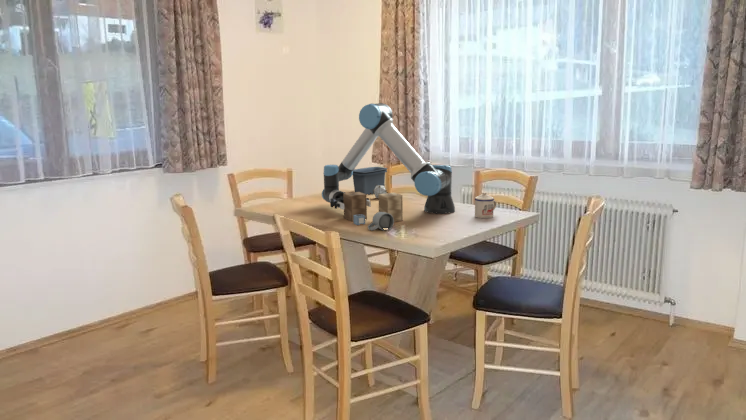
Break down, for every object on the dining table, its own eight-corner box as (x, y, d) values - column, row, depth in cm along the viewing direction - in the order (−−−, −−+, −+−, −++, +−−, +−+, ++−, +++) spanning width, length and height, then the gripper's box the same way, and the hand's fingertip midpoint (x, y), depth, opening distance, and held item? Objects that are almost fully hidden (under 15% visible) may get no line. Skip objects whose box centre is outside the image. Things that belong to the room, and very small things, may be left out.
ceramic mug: (386, 226, 271) (385, 209, 270) (394, 229, 264) (394, 212, 262) (364, 229, 267) (364, 211, 265) (372, 232, 260) (371, 215, 258)
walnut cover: (359, 216, 293) (359, 191, 290) (366, 219, 285) (366, 194, 283) (343, 218, 289) (343, 193, 287) (350, 221, 282) (350, 195, 279)
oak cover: (394, 217, 289) (393, 192, 286) (402, 220, 282) (402, 195, 279) (378, 219, 285) (378, 194, 283) (386, 222, 278) (386, 196, 276)
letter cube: (361, 222, 279) (361, 213, 278) (365, 224, 275) (365, 215, 275) (353, 223, 277) (353, 214, 276) (357, 225, 274) (357, 216, 273)
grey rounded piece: (381, 205, 338) (380, 193, 331) (369, 199, 342) (368, 186, 335) (391, 196, 342) (390, 184, 335) (380, 189, 346) (378, 177, 339)
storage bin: (363, 196, 346) (362, 171, 344) (345, 193, 358) (345, 169, 355) (390, 192, 360) (389, 168, 358) (372, 189, 372) (372, 166, 369)
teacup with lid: (483, 219, 282) (483, 194, 280) (470, 216, 289) (470, 192, 287) (502, 216, 288) (503, 192, 286) (489, 213, 296) (489, 189, 293)
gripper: (361, 203, 309) (380, 210, 290) (315, 208, 298) (332, 215, 279) (361, 188, 307) (380, 195, 288) (315, 193, 296) (332, 199, 278)
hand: (356, 205), depth 284 cm, fingers open, 13 cm apart
